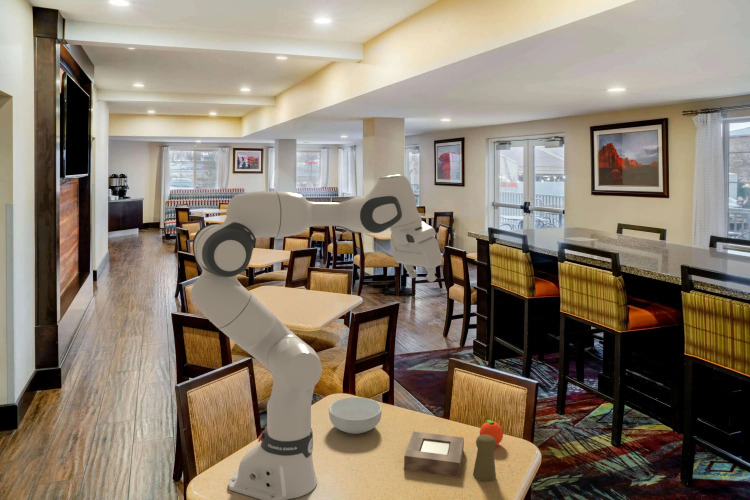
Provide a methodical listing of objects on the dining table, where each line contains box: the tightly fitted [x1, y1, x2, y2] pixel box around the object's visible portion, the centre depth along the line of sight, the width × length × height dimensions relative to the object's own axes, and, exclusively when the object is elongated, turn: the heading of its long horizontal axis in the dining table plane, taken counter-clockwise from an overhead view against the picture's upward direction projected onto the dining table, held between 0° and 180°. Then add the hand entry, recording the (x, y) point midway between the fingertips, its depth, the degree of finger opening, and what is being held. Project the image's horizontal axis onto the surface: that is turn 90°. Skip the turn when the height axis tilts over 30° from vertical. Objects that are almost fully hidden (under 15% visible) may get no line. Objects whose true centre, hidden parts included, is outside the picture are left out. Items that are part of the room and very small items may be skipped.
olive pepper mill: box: [472, 434, 497, 483], centre depth 145 cm, size 6×6×11 cm
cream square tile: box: [421, 440, 450, 455], centre depth 153 cm, size 7×7×1 cm
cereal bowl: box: [328, 396, 383, 435], centre depth 172 cm, size 17×17×7 cm
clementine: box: [479, 419, 504, 446], centre depth 164 cm, size 8×7×7 cm
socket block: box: [403, 431, 465, 478], centre depth 154 cm, size 15×15×4 cm
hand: (422, 279), depth 150 cm, fingers open, 8 cm apart
